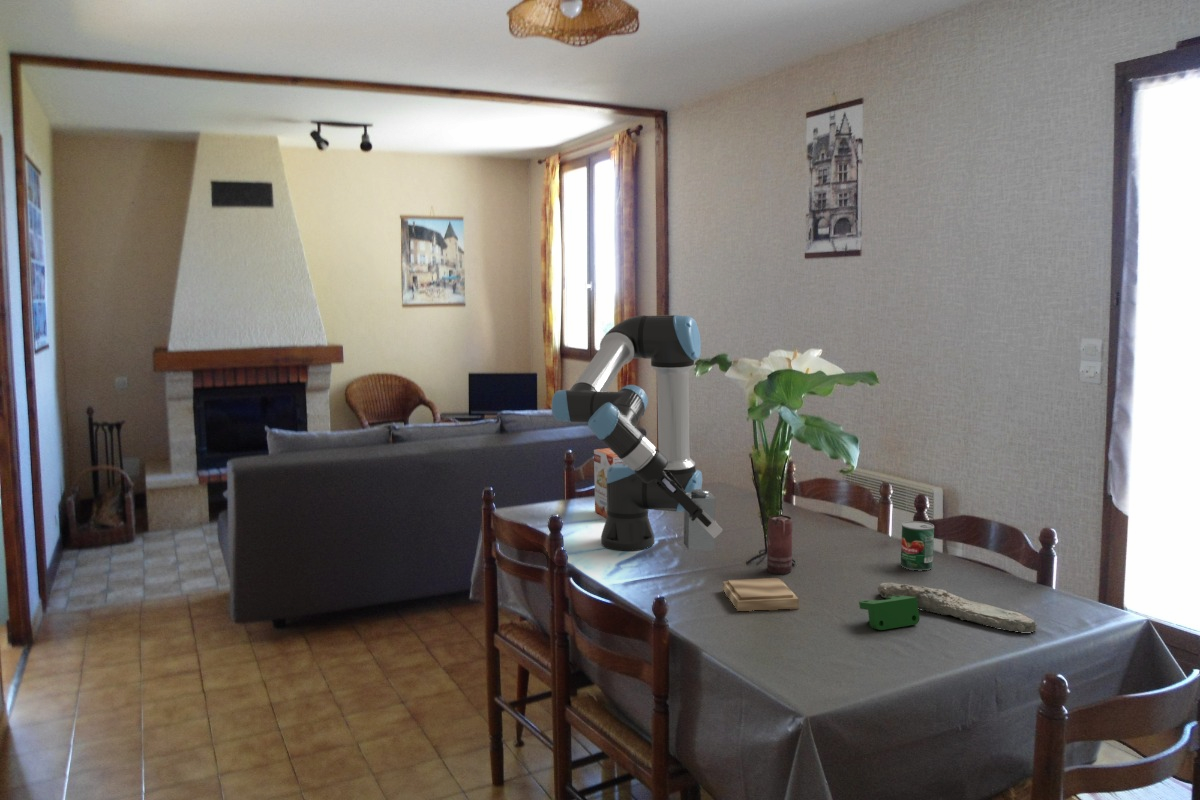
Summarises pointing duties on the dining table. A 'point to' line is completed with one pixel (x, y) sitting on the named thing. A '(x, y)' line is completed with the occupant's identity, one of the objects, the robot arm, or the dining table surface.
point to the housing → (693, 531)
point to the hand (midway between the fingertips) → (715, 529)
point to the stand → (760, 594)
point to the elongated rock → (959, 607)
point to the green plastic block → (892, 612)
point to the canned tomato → (917, 545)
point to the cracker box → (602, 477)
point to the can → (779, 544)
